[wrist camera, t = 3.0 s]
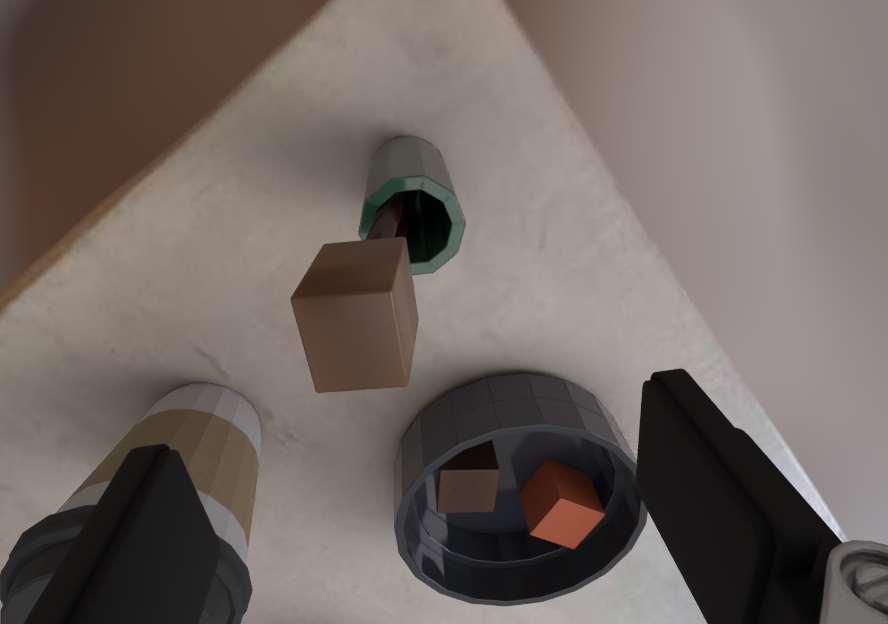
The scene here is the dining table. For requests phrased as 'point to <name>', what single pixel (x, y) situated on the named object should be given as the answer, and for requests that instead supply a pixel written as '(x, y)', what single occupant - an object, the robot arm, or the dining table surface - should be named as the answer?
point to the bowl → (513, 491)
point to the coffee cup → (214, 477)
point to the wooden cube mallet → (361, 306)
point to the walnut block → (468, 481)
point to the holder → (417, 200)
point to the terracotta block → (560, 504)
